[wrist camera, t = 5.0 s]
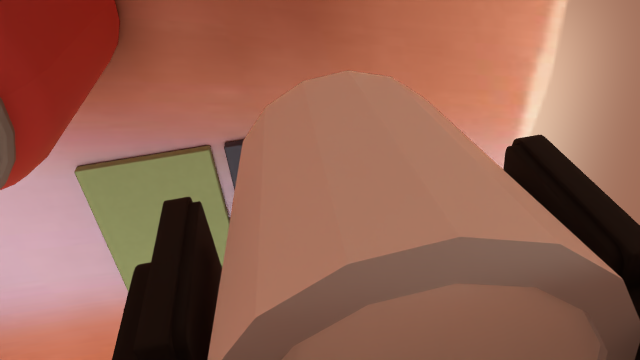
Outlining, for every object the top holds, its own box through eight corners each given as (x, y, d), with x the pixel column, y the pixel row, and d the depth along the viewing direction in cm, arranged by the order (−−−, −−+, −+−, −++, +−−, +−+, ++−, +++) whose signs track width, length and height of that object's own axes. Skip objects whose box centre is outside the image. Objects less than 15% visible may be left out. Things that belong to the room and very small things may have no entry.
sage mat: (76, 166, 27) (73, 172, 26) (209, 144, 27) (209, 150, 27) (144, 317, 33) (142, 324, 33) (250, 298, 34) (250, 304, 33)
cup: (265, -1, 11) (300, 177, 5) (517, 98, 13) (748, 301, 7) (182, 238, 14) (144, 517, 8) (396, 284, 16) (486, 529, 10)
